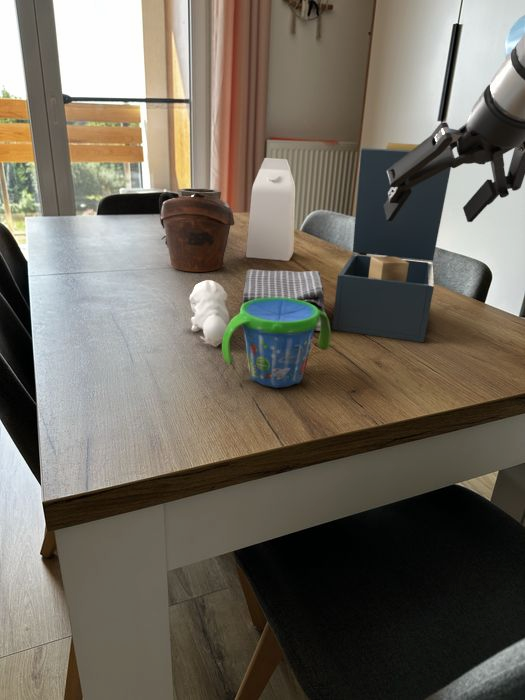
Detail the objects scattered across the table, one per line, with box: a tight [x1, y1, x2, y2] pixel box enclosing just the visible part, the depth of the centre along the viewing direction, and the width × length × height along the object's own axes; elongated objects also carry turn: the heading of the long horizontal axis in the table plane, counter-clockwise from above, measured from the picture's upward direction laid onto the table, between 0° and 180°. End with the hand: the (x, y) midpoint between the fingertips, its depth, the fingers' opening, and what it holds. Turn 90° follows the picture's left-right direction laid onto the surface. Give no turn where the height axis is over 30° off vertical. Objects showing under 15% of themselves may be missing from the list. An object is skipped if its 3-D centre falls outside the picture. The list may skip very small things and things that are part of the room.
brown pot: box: [159, 193, 235, 273], centre depth 127 cm, size 18×20×18 cm
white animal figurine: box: [189, 279, 230, 348], centre depth 83 cm, size 6×8×12 cm
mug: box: [158, 187, 222, 230], centre depth 162 cm, size 20×14×15 cm
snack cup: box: [221, 298, 332, 389], centre depth 70 cm, size 16×10×10 cm
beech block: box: [368, 256, 409, 282], centre depth 94 cm, size 5×5×11 cm
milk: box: [245, 157, 296, 262], centre depth 143 cm, size 12×12×26 cm
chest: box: [331, 253, 435, 344], centre depth 96 cm, size 20×16×10 cm
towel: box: [241, 268, 328, 332], centre depth 96 cm, size 15×18×8 cm
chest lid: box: [352, 142, 452, 262], centre depth 100 cm, size 21×16×10 cm
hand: (428, 214), depth 79 cm, fingers open, 13 cm apart
